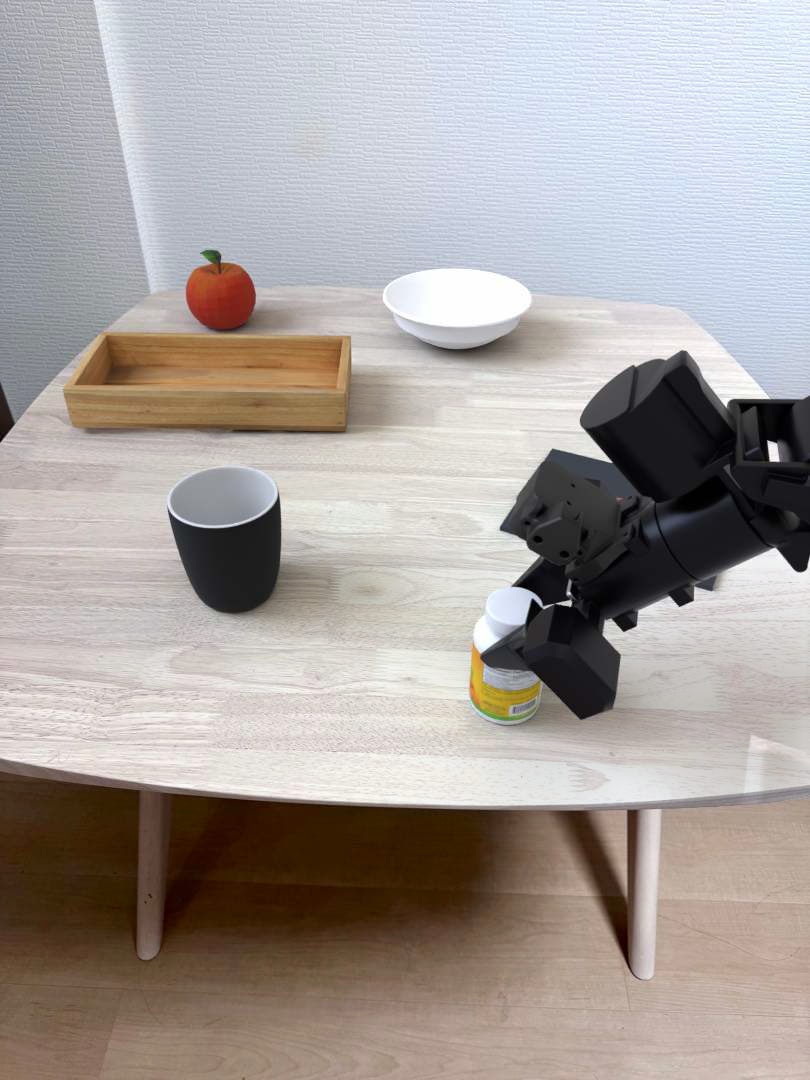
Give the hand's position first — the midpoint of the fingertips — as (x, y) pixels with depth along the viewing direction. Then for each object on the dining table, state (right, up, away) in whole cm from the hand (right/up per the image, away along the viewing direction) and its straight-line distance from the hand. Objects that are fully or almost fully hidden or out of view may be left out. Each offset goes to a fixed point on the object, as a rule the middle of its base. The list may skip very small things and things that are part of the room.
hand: (492, 633), depth 61 cm
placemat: (+15, +9, +23) cm, 29 cm away
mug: (-22, +3, +15) cm, 27 cm away
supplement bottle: (+1, -6, +4) cm, 7 cm away
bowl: (+1, +34, +55) cm, 65 cm away
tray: (-28, +23, +41) cm, 55 cm away
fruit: (-32, +37, +59) cm, 76 cm away
